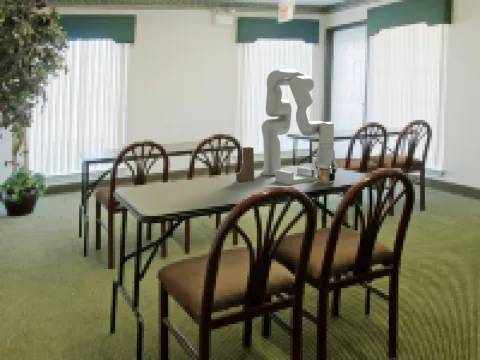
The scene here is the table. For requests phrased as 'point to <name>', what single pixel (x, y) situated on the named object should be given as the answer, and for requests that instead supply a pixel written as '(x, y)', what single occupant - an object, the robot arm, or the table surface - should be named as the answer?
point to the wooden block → (247, 166)
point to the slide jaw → (308, 169)
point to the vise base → (298, 179)
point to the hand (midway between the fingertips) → (326, 179)
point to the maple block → (324, 176)
